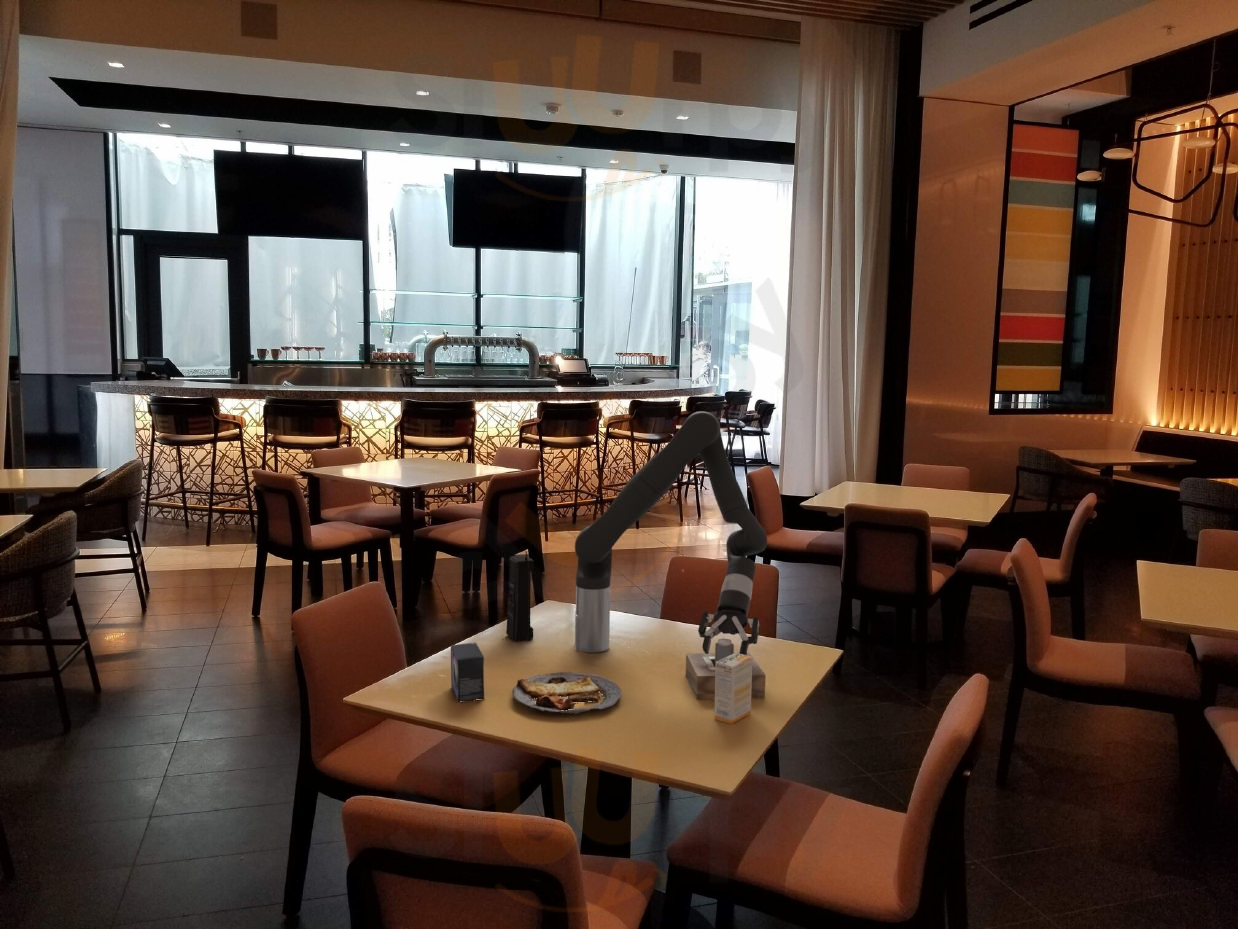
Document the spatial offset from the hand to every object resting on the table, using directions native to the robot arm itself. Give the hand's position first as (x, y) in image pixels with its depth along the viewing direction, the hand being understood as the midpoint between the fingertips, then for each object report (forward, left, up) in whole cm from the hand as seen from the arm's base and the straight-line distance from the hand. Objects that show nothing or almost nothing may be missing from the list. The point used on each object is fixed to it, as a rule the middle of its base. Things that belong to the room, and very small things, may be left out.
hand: (723, 654), depth 214 cm
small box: (-60, -1, -8) cm, 61 cm away
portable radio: (-49, +41, -8) cm, 65 cm away
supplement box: (-1, -17, -8) cm, 19 cm away
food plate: (-37, -5, -9) cm, 39 cm away
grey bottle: (0, +1, -7) cm, 7 cm away
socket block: (+1, +1, -8) cm, 8 cm away
